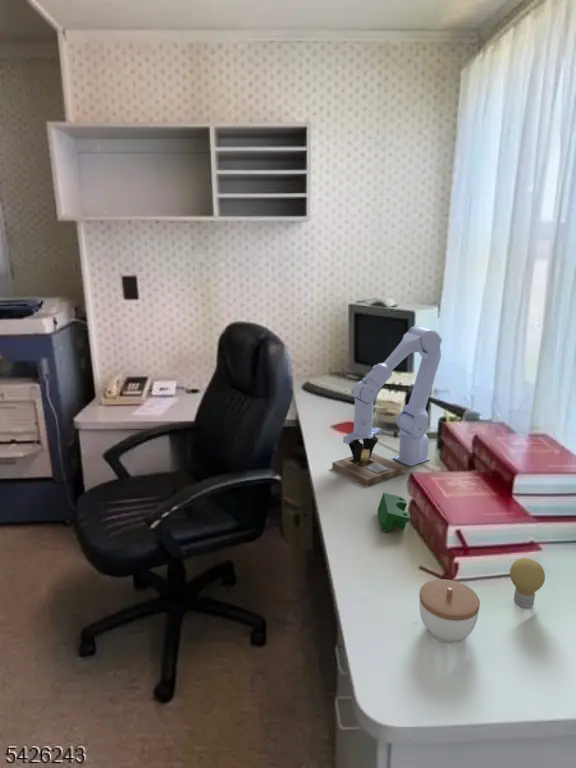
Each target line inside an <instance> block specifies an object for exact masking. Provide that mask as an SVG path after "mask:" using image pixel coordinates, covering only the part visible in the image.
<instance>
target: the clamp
mask: <svg viewBox="0 0 576 768" xmlns="http://www.w3.org/2000/svg"><path fill="white" fill-rule="evenodd" d="M379 501H380V502H379V504H378V508H377V516H378V520H379V527H380V530H381V531H382V532H383V531H384V532H388V533H390V532H391V531H392V529H393V527H396V528H399V529H402V530H403V529H404V530H405V528H406V525H407V523H410V520H411V518H412V517H411V513H410V511H405V510H406V508H407V505H408V503H407V500H406V499H405V498H404V497H402V496H398V495H395V494H391V493H386V492H383V493H382V496H381V499H380V500H379Z"/></svg>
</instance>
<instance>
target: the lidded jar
mask: <svg viewBox="0 0 576 768" xmlns="http://www.w3.org/2000/svg"><path fill="white" fill-rule="evenodd" d="M420 587H421V588H420V589H419V614H420V618H421V621H422V623H423V625H424V627H425V628H426V630H427V631H428V632H429V633H430V634H431V636H432V637H433V638H435V640H437V641H440V642H442V643H445V644H455V643H456V644H457V643H459V642H460V641H461V640H464V639H465V638H467V637H468V636H469V635H470V634H471V633H472V631H473V630H474V629H475V627H476V623H477V621H478V617H479V610H480V605H481V603H480V601H481V600H480V598H479V596H478V595H477V593H476V592H475V591H474V589H472V588H471V587H469V586H468V585H466V584H464V583H462V582H459V581H456V580H453V579H452V580H451V579H445V578H444V579H443V578H442V579H433V580H430V581H427V582H425V583H424V584H423V585H422V586H420Z"/></svg>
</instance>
